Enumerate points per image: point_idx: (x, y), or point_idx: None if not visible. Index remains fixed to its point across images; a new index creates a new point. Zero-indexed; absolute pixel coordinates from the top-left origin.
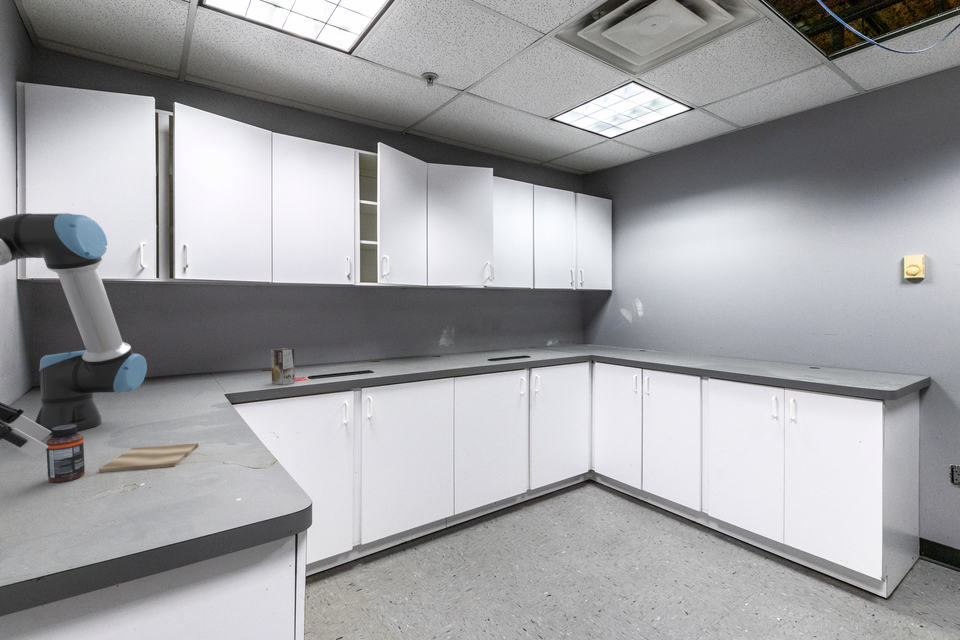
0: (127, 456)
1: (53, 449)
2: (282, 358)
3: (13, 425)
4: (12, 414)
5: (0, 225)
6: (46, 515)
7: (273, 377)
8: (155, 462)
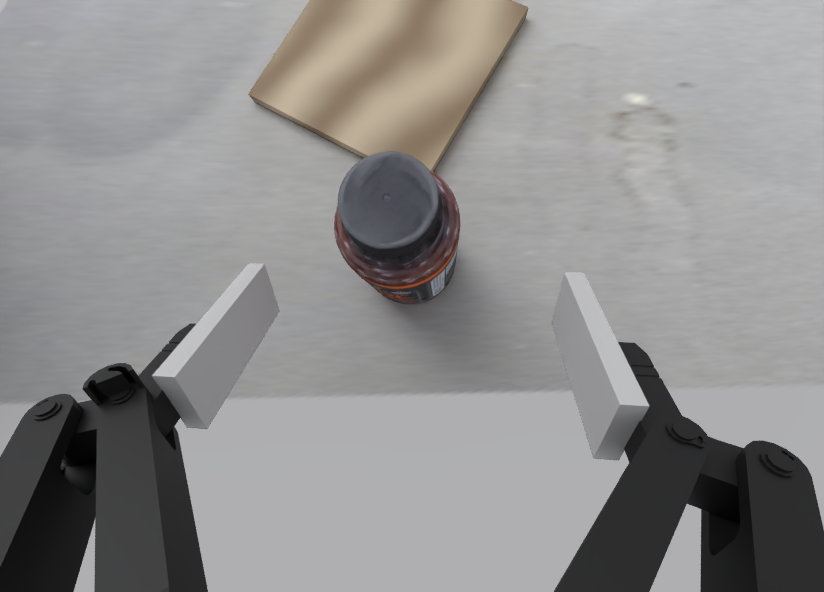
0: (342, 111)
1: (446, 266)
2: None
3: (211, 408)
4: (156, 424)
5: None
6: (742, 309)
7: None
8: (478, 50)
